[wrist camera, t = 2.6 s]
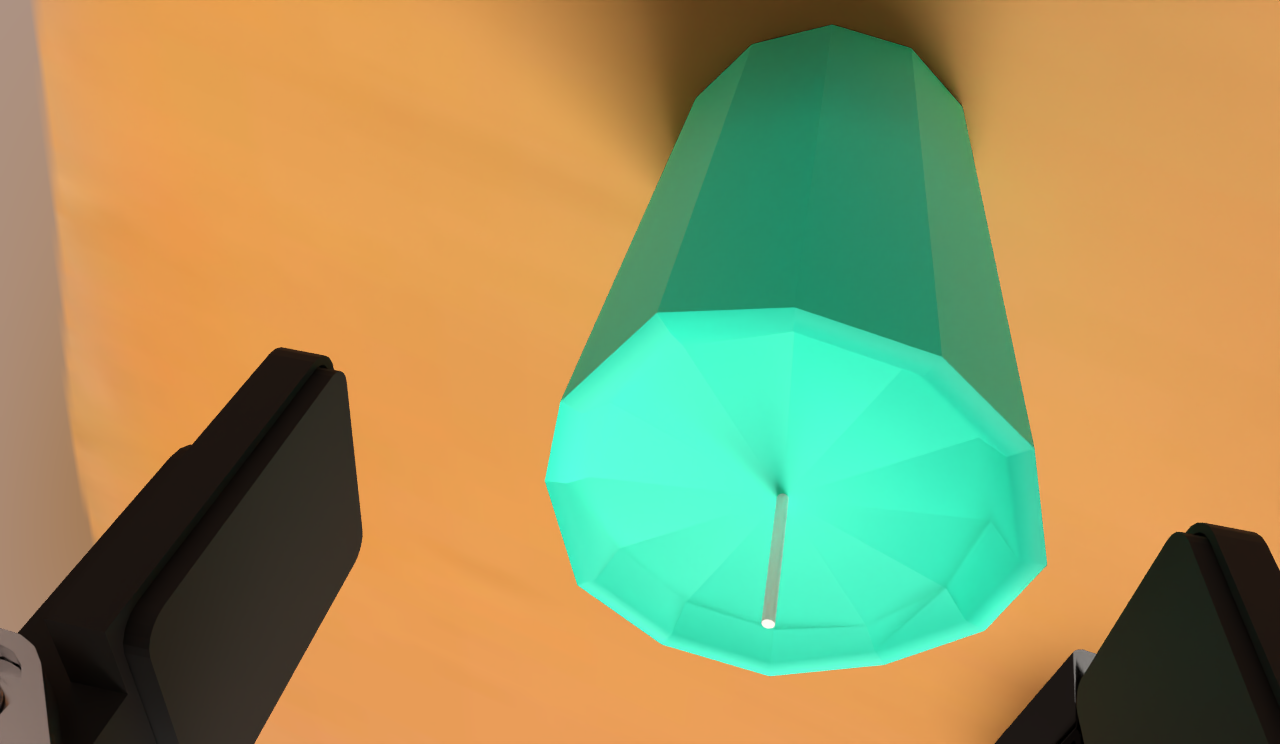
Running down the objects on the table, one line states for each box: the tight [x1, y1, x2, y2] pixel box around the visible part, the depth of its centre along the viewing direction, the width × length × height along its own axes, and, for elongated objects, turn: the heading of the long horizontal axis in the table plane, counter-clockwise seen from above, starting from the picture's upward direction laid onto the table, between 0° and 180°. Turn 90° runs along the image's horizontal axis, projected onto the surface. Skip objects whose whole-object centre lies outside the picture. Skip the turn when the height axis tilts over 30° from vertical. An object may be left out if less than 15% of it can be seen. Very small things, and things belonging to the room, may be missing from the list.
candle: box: [545, 25, 1047, 676], centre depth 15 cm, size 6×6×12 cm
